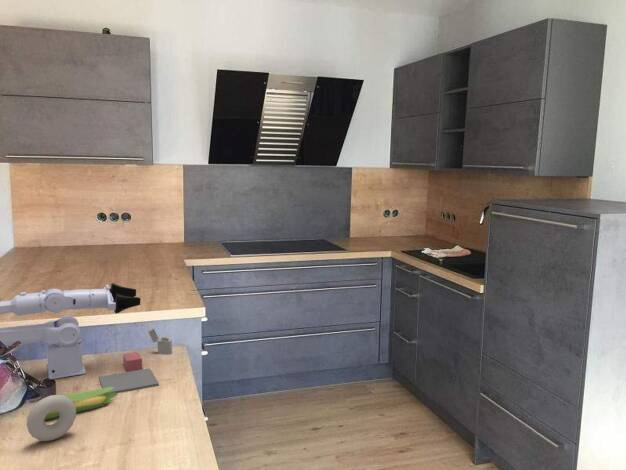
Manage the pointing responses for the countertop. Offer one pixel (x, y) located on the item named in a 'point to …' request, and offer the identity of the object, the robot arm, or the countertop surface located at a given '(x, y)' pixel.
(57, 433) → the donut
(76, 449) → the countertop surface
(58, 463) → the countertop surface
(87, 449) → the countertop surface
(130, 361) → the pink rectangular block
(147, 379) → the mat
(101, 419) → the countertop surface
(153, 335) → the lighter
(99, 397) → the edible corn
